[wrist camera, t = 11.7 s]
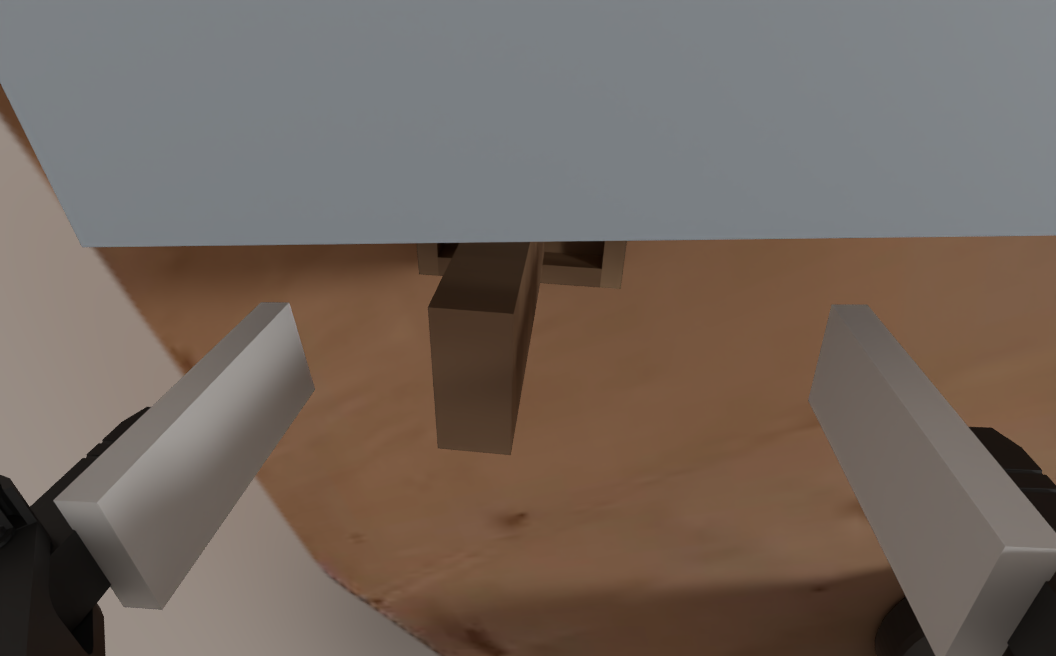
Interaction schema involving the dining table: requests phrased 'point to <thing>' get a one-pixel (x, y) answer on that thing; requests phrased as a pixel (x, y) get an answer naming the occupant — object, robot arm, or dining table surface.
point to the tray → (496, 326)
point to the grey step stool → (536, 118)
